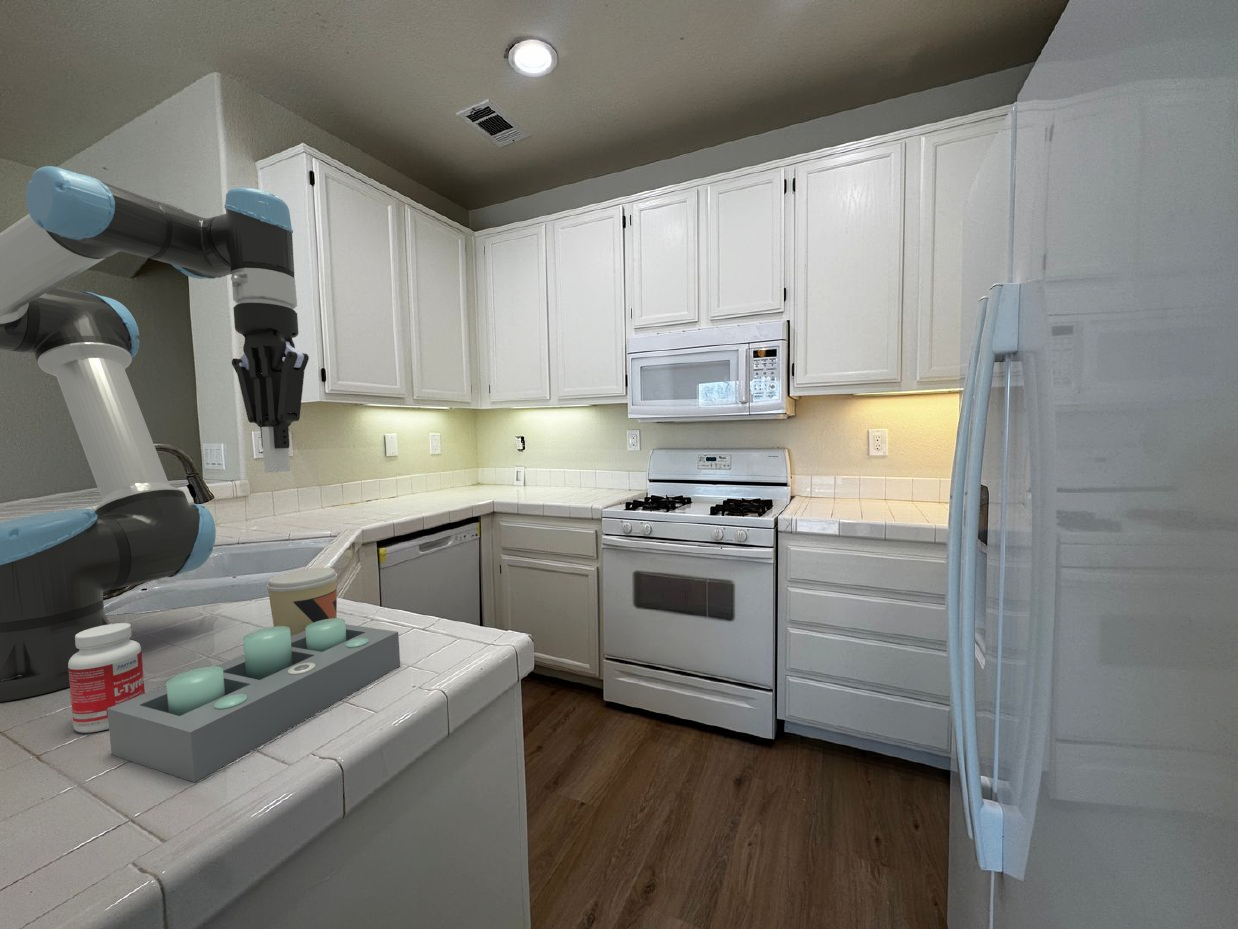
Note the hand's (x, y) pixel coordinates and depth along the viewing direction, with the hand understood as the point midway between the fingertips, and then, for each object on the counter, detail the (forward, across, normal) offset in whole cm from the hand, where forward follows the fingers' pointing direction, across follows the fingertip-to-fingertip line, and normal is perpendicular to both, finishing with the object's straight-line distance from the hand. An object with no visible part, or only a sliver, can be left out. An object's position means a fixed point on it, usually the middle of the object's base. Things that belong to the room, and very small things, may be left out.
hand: (277, 471), depth 74 cm
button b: (+25, +9, -9) cm, 28 cm away
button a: (+26, +9, -17) cm, 33 cm away
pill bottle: (+29, -6, -18) cm, 34 cm away
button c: (+26, +9, -1) cm, 28 cm away
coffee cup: (+29, -2, +4) cm, 29 cm away
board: (+28, +10, -9) cm, 31 cm away
